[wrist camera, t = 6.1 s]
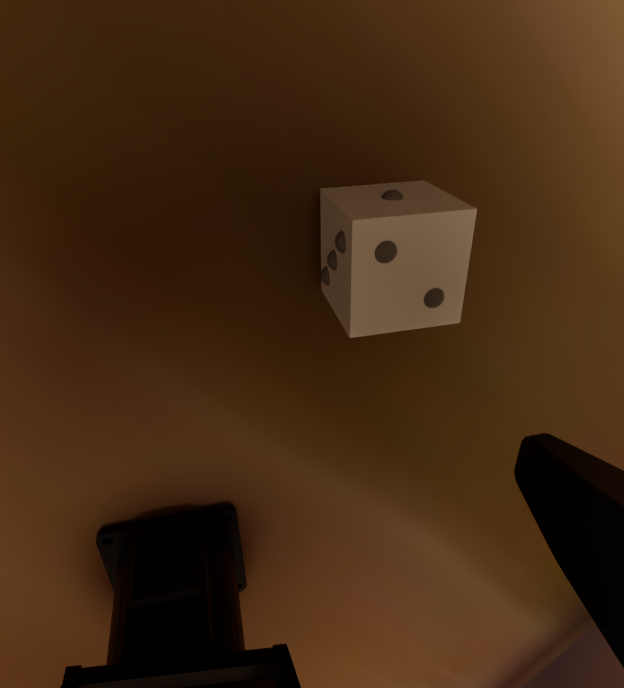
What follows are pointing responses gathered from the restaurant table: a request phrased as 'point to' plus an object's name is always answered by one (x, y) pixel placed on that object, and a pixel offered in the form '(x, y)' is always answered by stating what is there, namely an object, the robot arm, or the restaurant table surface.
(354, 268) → the die
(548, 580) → the restaurant table surface
